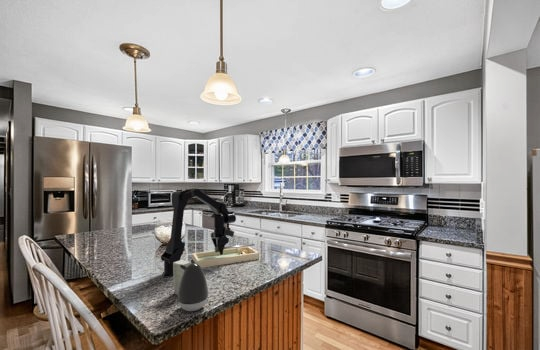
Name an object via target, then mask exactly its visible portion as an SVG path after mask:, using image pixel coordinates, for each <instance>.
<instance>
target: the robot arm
mask: <svg viewBox="0 0 540 350" xmlns="http://www.w3.org/2000/svg"><path fill="white" fill-rule="evenodd" d="M193 198H196V199H197V200H199V201H200V202H202V203H203V204H205V205H206V206H208V207H209V209H210V210H211V211H212V212H213V213H212V215H210V218H213V219H214V220H213V231H212V232H211V233H210V238H211V241H212V243H213V246H214V248H215V247H218V250H219V252H220V255H222V254H223V250H224V247H226V245H228V243H230V239H229V238H228V237H227V236H229V237H230V238H234V235H235V231H233V229H231V227H226V226H225V225H227V224H232V223H235V222H236V220H237V217H236V214H235V213H234V212H235V211H233V210H231V211H229V209H228V208H227V205H226V204H225V202H221V201H219V200H216V199H213V198H212V197H211V196H210V195H208V194H207V193H205V192H203V191H202V190H200V189H199V188H198V187H195V188H194V187H192V188H190V189H185V190H175V191H173V192H172V194H171V204H172V207H173V213H172V222H171V232H170V239H169V240H168V242H167V243H166V248H165V251H164V252H163V253H162V254H161V256H160V260H161V261H162V262H163V271H162V277H163V278H167V277H169V278H170V277H173V262H176V261H180V260H181V259H182V256H183V253H184V252H186V251H185V246H186V242H185V241H182V232H183V231H182V230H183V222H184V214H185V209H186V207H187V205H188V202H189V200H192V199H193Z"/></svg>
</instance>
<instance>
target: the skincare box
mask: <svg viewBox="0 0 540 350" xmlns="http://www.w3.org/2000/svg"><path fill="white" fill-rule="evenodd" d="M190 264H192V261H189V260H185V259H180V261H176V262H173V276H172V277H173V294H175V295H178V291H179V285H180V281H181V278H182V275H183V273H184V270H183V269H182V268H180V265H184V266H186V267H187V266H188V265H190Z"/></svg>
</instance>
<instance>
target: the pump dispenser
mask: <svg viewBox="0 0 540 350" xmlns="http://www.w3.org/2000/svg"><path fill="white" fill-rule="evenodd" d="M180 268H182V269H183V270H184V273H183V275H182V278H181V281H180V285H179V291H178V294H177V301H178V303H179V307H181V308H182V309H183V310H184V311H186V312H195V311H199V310H200V309H202V308H203V307H204V306H205V304H206V303H207V301H208V297H209V287H208V281H207V277H206V275H205V272H204V270H203V268H201V267H200V265H198V264H196V263H194V262H193V263H192V262H191V264H190V265H188V266H187V267H186V266H184V265H180Z"/></svg>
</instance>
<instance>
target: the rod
mask: <svg viewBox="0 0 540 350" xmlns="http://www.w3.org/2000/svg"><path fill="white" fill-rule="evenodd" d="M255 245H256V244H255V243H248V244H243V245H242V244H241V245H233V246H225V247H224V250H225V249H233V248H236V254H237V255H240V248H241V247H255ZM214 251H215V252H219V250H218V247H215V246H214Z"/></svg>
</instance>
